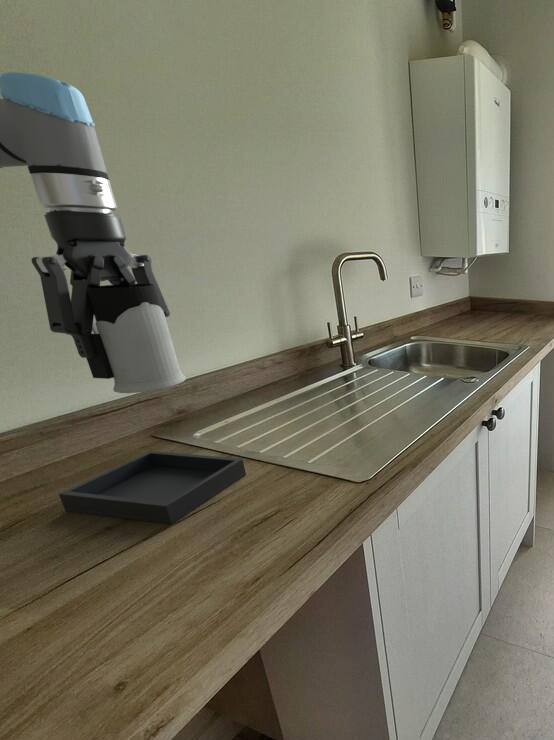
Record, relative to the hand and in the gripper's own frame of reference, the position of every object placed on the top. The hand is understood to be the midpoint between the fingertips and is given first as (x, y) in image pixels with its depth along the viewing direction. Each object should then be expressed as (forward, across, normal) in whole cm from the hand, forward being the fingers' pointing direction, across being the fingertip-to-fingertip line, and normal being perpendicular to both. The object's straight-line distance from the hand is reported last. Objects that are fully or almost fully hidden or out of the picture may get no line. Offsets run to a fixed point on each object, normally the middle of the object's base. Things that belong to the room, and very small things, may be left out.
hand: (132, 369), depth 64 cm
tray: (+19, -4, -4) cm, 20 cm away
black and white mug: (+2, 0, 0) cm, 2 cm away
